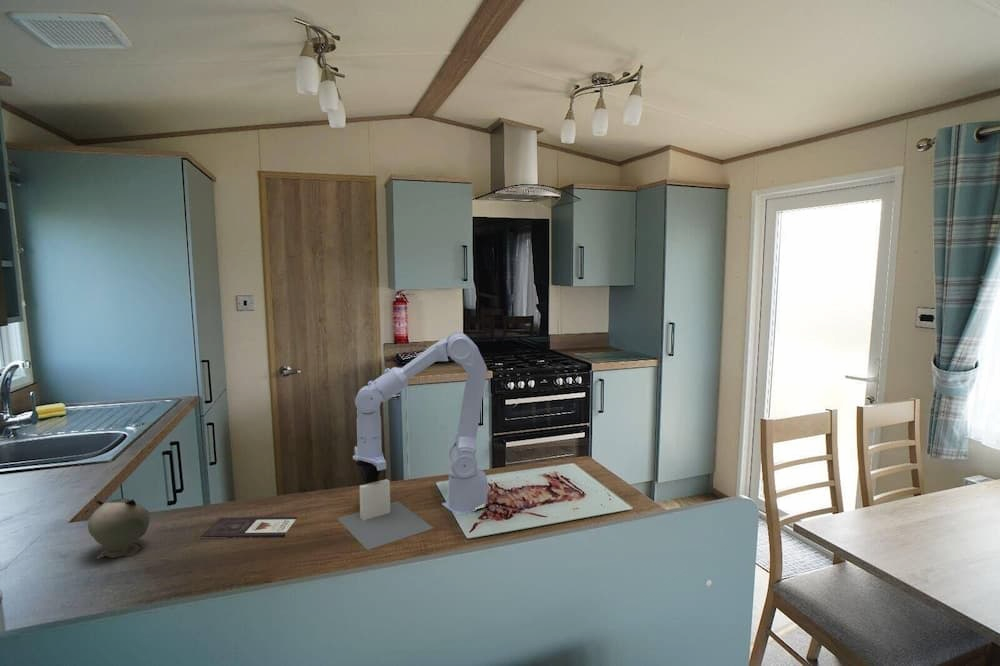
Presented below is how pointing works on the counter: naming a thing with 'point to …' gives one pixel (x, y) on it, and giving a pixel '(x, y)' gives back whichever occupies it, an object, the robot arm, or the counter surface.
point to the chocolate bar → (250, 527)
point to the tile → (374, 499)
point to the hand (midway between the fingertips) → (370, 490)
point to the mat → (385, 526)
